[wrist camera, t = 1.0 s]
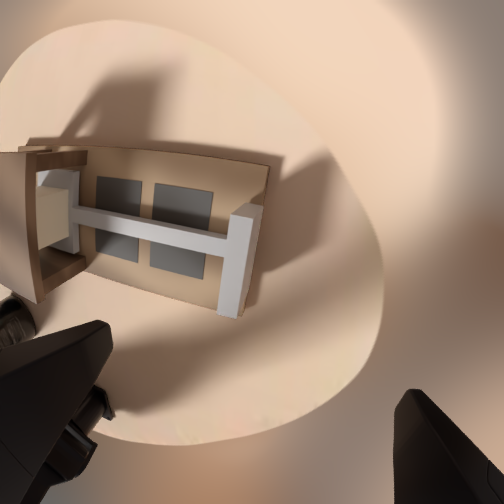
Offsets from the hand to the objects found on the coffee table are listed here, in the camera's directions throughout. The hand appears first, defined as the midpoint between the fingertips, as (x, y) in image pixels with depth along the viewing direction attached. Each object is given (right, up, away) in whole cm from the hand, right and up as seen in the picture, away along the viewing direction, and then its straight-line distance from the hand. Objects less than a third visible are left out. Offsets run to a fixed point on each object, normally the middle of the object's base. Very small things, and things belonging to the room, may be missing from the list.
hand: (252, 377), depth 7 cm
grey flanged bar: (-10, +6, +13) cm, 17 cm away
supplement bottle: (-32, -5, +22) cm, 39 cm away
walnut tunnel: (-17, +8, +15) cm, 24 cm away
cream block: (-17, +7, +13) cm, 23 cm away
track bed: (-12, +7, +15) cm, 20 cm away
